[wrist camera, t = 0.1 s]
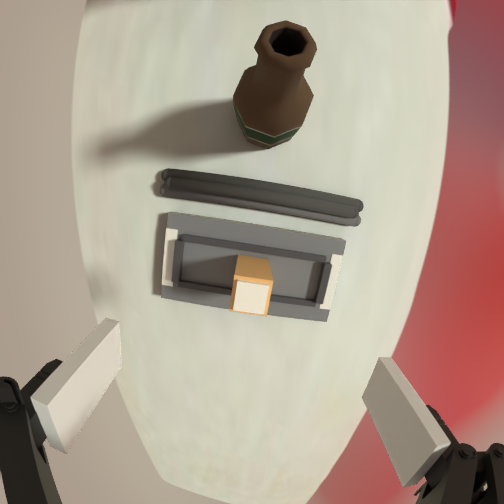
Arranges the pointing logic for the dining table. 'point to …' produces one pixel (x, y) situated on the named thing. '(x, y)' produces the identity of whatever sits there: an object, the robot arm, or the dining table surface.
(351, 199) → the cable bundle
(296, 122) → the beer bottle
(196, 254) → the grey rectangular tray
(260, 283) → the block
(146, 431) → the dining table surface
